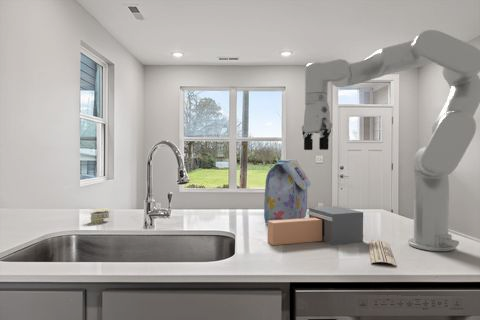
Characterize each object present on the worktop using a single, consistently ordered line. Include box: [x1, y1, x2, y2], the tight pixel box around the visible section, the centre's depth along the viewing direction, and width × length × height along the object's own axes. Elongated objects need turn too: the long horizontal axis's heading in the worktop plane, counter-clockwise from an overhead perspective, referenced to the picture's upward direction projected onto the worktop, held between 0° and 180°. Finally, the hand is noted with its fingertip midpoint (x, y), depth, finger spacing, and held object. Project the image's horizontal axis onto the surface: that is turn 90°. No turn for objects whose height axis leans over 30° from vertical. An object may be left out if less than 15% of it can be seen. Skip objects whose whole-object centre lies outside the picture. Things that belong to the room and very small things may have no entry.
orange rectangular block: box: [267, 217, 323, 246], centre depth 114 cm, size 4×18×7 cm, turn 110°
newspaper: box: [368, 240, 397, 268], centre depth 101 cm, size 24×7×2 cm, turn 161°
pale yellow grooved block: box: [89, 207, 111, 224], centre depth 146 cm, size 10×9×6 cm
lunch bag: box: [263, 159, 311, 225], centre depth 149 cm, size 22×17×26 cm
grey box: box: [307, 205, 364, 245], centre depth 119 cm, size 14×13×10 cm
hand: (315, 149), depth 120 cm, fingers open, 9 cm apart
